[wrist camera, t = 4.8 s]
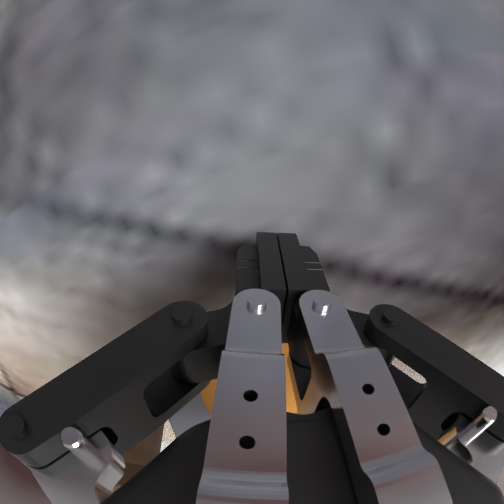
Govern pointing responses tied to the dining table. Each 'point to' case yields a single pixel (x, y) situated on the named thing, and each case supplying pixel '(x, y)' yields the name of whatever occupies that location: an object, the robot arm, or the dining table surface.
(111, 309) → the dining table surface
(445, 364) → the robot arm
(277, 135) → the dining table surface
